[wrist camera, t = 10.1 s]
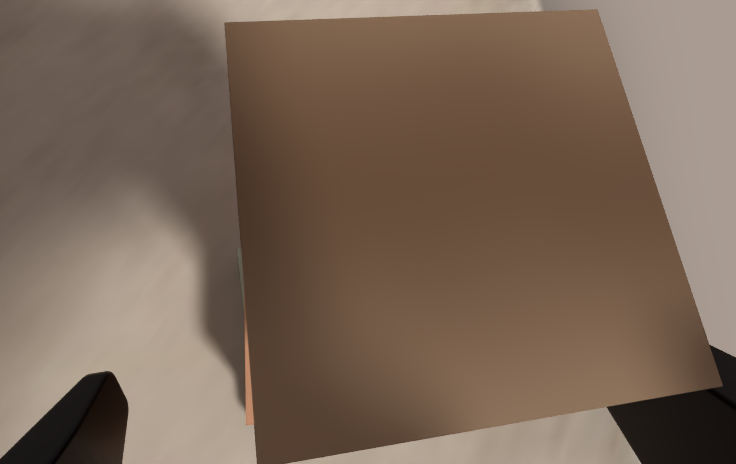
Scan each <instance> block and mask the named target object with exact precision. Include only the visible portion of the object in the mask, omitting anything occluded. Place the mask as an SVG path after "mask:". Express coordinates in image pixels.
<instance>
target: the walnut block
mask: <svg viewBox="0 0 736 464" xmlns="http://www.w3.org/2000/svg"><path fill="white" fill-rule="evenodd" d="M224 24H225V37H226V51H227V64H228V78H229V91H230V105H231V118H232V132H233V145H234V159H235V172H236V186H237V200H238V213H239V227H240V240H241V254H242V267H243V281H244V294H245V308H246V321H247V335H248V348H249V362H250V375H251V389H252V402H253V416H254V429H255V443H256V457H257V464H286V463H291V462H297V461H303V460H308V459H314V458H320V457H325V456H331V455H337V454H342V453H348V452H354V451H359V450H365V449H371V448H376V447H382V446H388V445H393V444H399V443H405V442H410V441H416V440H421V439H427V438H433V437H438V436H444V435H450V434H455V433H461V432H467V431H472V430H478V429H484V428H489V427H495V426H501V425H506V424H512V423H518V422H523V421H529V420H535V419H540V418H546V417H552V416H557V415H563V414H569V413H574V412H580V411H586V410H591V409H597V408H603V407H608V406H614V405H620V404H625V403H631V402H636V401H642V400H648V399H653V398H659V397H665V396H670V395H676V394H682V393H687V392H693V391H699V390H704V389H710V388H716V387H721V386H723V384H722V381H721V378H720V375H719V372H718V369H717V366H716V364H715V361H714V358H713V355H712V352H711V349H710V346H709V343H708V340H707V337H706V334H705V331H704V328H703V325H702V322H701V319H700V316H699V313H698V310H697V307H696V304H695V301H694V298H693V295H692V292H691V289H690V286H689V283H688V280H687V277H686V274H685V271H684V268H683V265H682V262H681V259H680V256H679V253H678V250H677V247H676V244H675V241H674V238H673V235H672V232H671V229H670V226H669V223H668V220H667V217H666V214H665V211H664V208H663V205H662V202H661V199H660V196H659V193H658V190H657V187H656V184H655V181H654V178H653V175H652V172H651V169H650V166H649V163H648V160H647V157H646V154H645V151H644V148H643V145H642V142H641V139H640V136H639V133H638V130H637V127H636V124H635V121H634V118H633V115H632V112H631V109H630V106H629V103H628V100H627V97H626V94H625V91H624V88H623V85H622V82H621V79H620V76H619V73H618V70H617V67H616V64H615V61H614V58H613V55H612V52H611V49H610V46H609V43H608V40H607V37H606V34H605V31H604V28H603V25H602V22H601V19H600V16H599V13H598V10H570V11H540V12H512V13H484V14H455V15H427V16H399V17H370V18H342V19H314V20H285V21H257V22H229V23H224Z"/></svg>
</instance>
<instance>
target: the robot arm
mask: <svg viewBox="0 0 736 464" xmlns="http://www.w3.org/2000/svg"><path fill="white" fill-rule="evenodd" d="M709 346H710V349H711V352H712V355H713V358H714V361H715V364H716V366H717V369H718V372H719V375H720V378H721V381H722V384H723V386H721V387H716V388H710V389H704V390H699V391H693V392H687V393H682V394H676V395H670V396H665V397H659V398H653V399H648V400H642V401H636V402H631V403H625V404H620V405H614V406H608V407H607V408H608V410H609V412H610V413H611V415H612V417H613V418H614V420H615V422H616V423H617V425H618V426H619V428H620V430H621V431H622V433H623V435H624V436H625V438H626V439H627V441H628V443H629V444H630V446H631V447H632V449H633V451H634V452H635V454H636V456H637V457H638V459H639V460H640V462H641V464H736V357H733V356H731V355H730V354H727V353H725V352H723V351H721V350H719V349H717V348H715V347H713V346H711V345H709ZM127 419H128V402H127V399H126V397H125V395H124V393H123V391H122V389H121V387H120V385H119V383H118V381H117V379H116V377H115V375H114V374H113V373H112V372H110V371H105V372H99V373H93V374H88V375H86V376H85V377H83V378H82V379H81V380H80V381H79V382H78V383H77V384H76V385H75V386H74V387H73V388H72V389H71V390H70V391H69V392H68V393H67V394H66V395H65V396H64V397H63V398H62V399H61V400H60V401H59V402H58V403H57V404H56V405H55V406H54V407H53V408H52V409H51V410H49V411H48V412H47V413H46V414H45V415H44V416H43V417H42V418H41V419H40V420H39V421H38V422H37V423H36V424H35V425H34V426H33V427H32V428H31V429H30V430H29V431H28V432H27V433H26V434H25V435H24V436H23V437H22V438H21V439H20V440H19V441H18V442H17V443H16V444H15V445H14V446H13V447H12V448H11V449H10V450H9V451H8V452H7V453H6V454H5V455H4V456H3V457H2V458H1V459H0V464H122V460H123V452H124V444H125V436H126V428H127Z"/></svg>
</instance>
